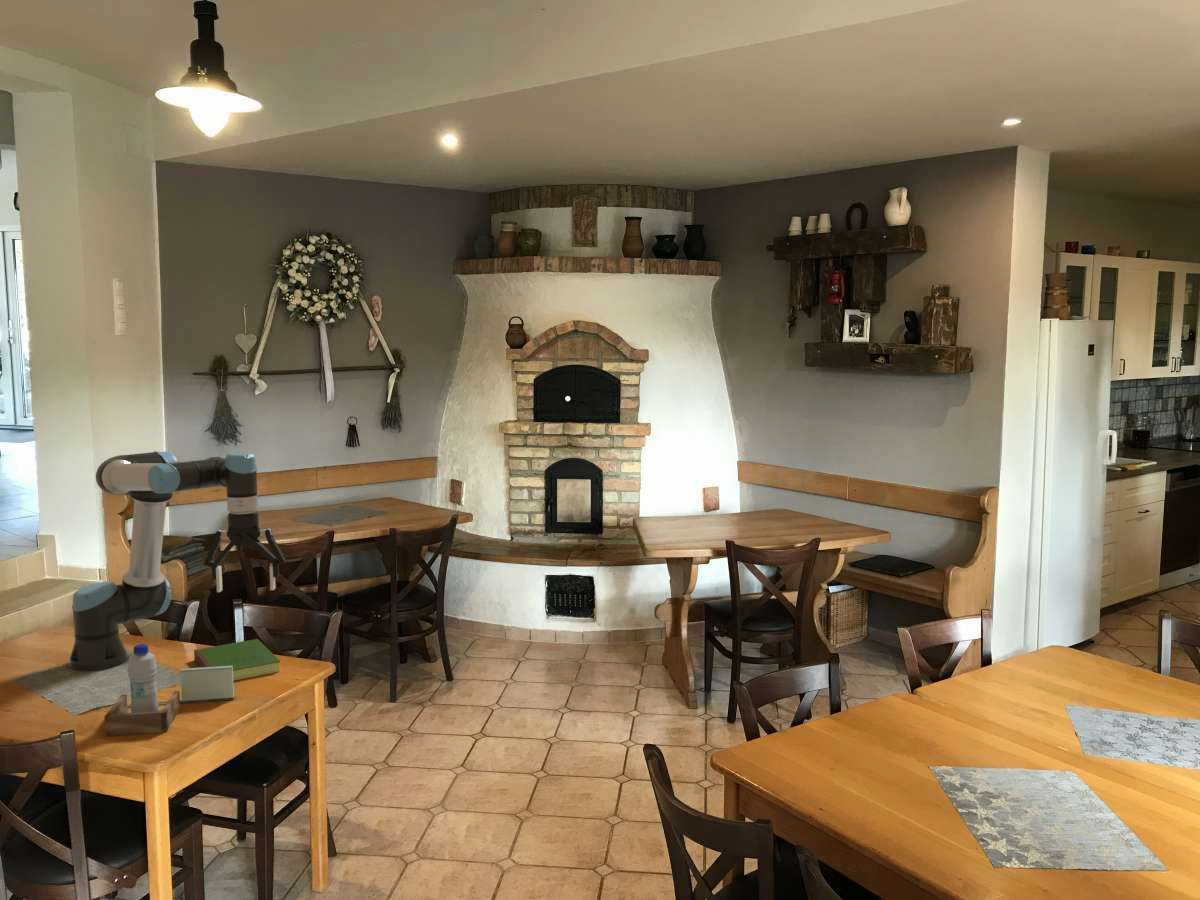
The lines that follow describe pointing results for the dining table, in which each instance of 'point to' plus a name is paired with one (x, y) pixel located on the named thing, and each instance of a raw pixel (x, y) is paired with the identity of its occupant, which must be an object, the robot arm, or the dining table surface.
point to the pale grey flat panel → (207, 683)
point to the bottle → (143, 680)
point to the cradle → (145, 716)
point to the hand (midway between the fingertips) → (246, 590)
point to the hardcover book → (239, 658)
